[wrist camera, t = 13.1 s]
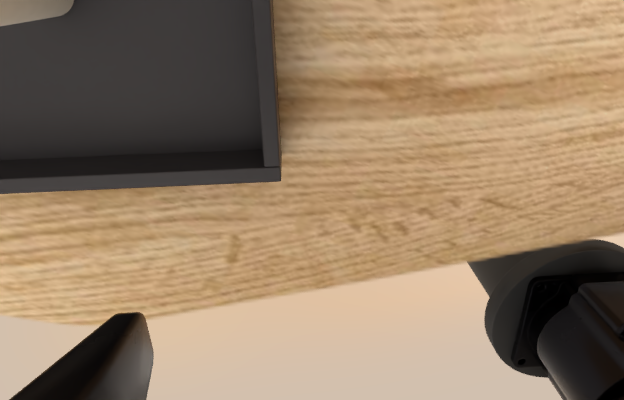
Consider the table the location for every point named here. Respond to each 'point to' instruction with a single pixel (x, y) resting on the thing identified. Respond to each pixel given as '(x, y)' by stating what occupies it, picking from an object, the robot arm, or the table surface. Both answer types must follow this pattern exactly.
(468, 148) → the table surface
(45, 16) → the marker
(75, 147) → the tray
